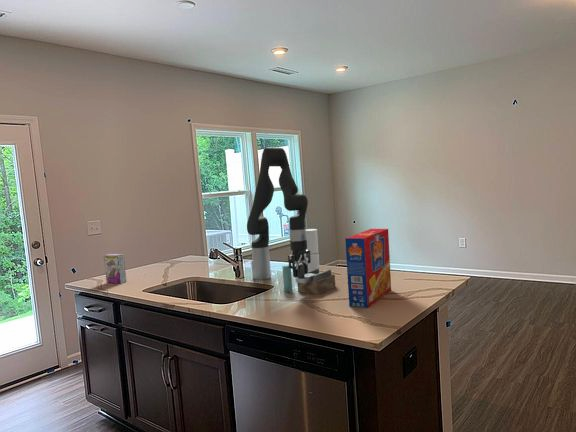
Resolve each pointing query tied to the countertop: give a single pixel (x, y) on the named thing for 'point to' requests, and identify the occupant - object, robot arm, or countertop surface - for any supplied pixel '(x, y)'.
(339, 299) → the countertop surface
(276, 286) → the countertop surface
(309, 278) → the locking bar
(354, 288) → the pasta box
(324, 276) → the socket block
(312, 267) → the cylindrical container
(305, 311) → the countertop surface
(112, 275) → the candy bar box
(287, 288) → the teal peg
